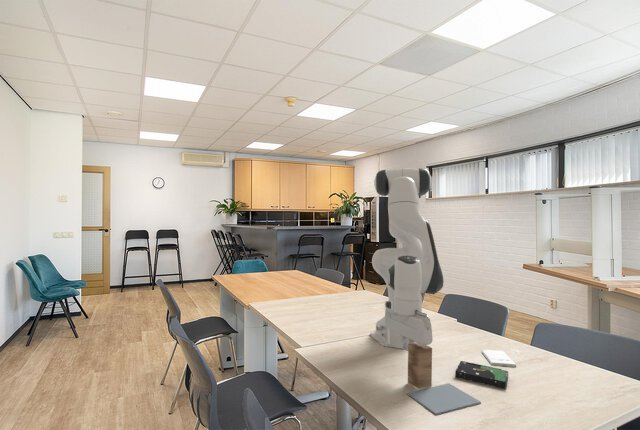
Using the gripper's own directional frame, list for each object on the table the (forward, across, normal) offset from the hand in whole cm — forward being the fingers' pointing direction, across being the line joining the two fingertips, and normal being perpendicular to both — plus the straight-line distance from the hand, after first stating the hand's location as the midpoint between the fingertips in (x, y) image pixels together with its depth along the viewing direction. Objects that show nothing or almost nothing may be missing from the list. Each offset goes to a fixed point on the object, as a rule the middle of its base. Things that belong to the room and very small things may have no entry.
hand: (406, 349), depth 115 cm
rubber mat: (+9, -15, -1) cm, 18 cm away
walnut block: (+9, -6, 0) cm, 11 cm away
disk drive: (+9, -9, -23) cm, 27 cm away
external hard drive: (+10, 0, -41) cm, 42 cm away
